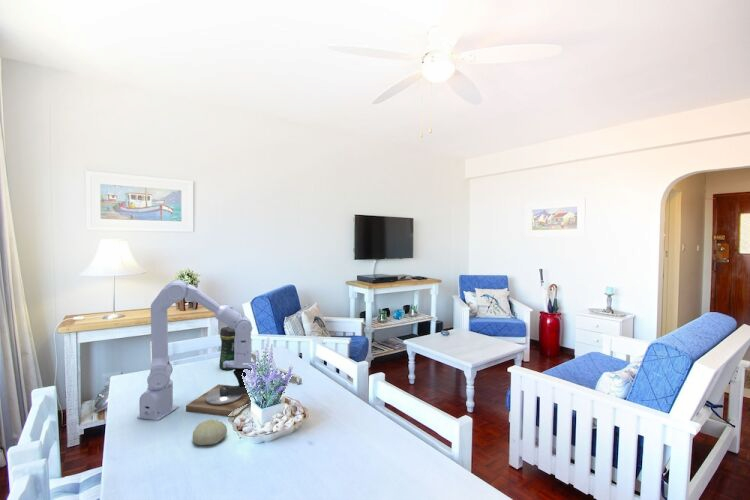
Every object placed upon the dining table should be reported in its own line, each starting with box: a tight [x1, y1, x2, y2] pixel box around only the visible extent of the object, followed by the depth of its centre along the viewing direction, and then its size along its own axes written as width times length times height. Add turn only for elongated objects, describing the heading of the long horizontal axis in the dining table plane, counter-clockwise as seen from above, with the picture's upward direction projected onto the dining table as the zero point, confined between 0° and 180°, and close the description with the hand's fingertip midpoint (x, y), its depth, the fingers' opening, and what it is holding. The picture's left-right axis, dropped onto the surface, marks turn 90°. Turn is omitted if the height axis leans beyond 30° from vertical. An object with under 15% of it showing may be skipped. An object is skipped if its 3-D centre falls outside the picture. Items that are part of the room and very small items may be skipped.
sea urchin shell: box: [192, 419, 228, 446], centre depth 106 cm, size 9×8×8 cm
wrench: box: [251, 352, 303, 385], centre depth 153 cm, size 8×2×30 cm
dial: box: [206, 384, 248, 405], centre depth 128 cm, size 14×12×4 cm
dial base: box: [185, 383, 251, 417], centre depth 129 cm, size 18×18×2 cm
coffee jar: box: [219, 326, 235, 371], centre depth 163 cm, size 10×8×19 cm
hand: (242, 388), depth 132 cm, fingers closed
